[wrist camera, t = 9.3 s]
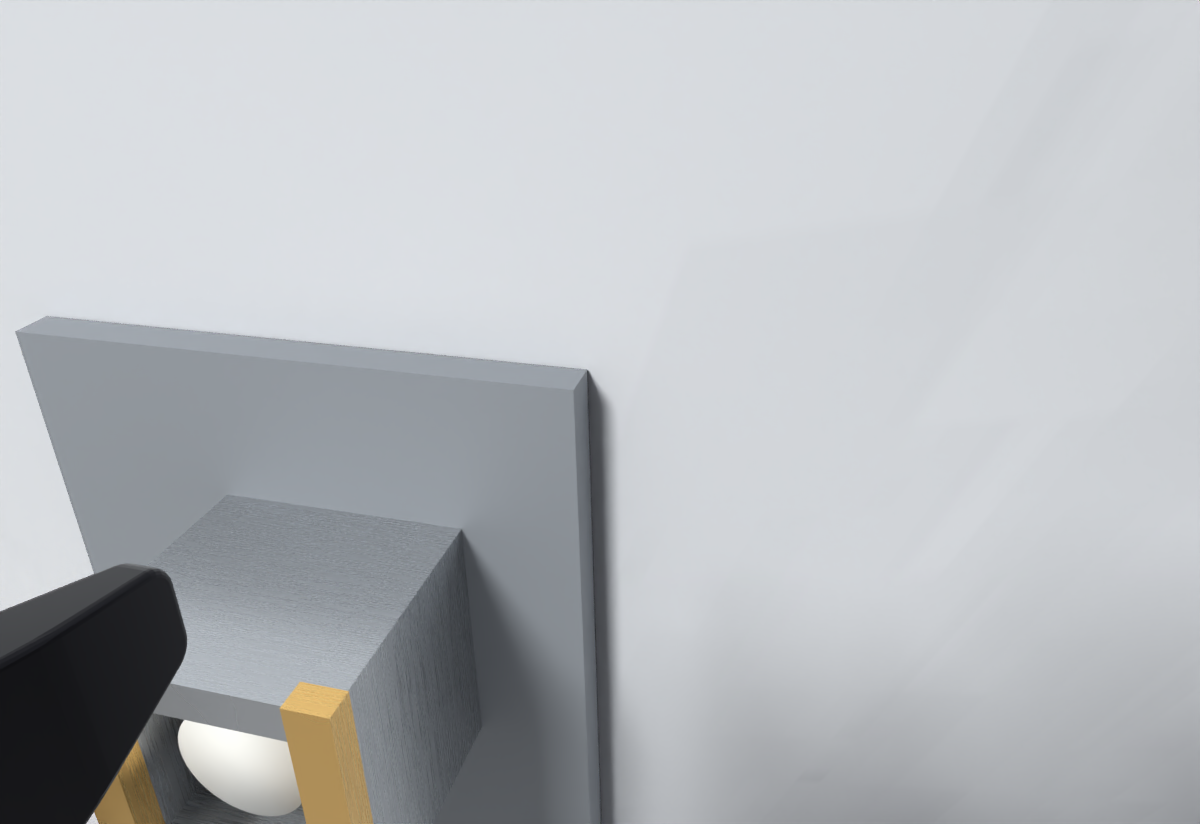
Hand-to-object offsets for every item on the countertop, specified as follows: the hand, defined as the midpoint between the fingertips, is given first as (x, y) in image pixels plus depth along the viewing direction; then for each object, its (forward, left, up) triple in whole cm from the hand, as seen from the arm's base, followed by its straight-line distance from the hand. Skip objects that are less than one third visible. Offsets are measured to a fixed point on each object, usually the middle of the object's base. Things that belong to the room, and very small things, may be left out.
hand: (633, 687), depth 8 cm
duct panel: (+11, +12, -12) cm, 20 cm away
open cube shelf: (+10, +10, -11) cm, 18 cm away
